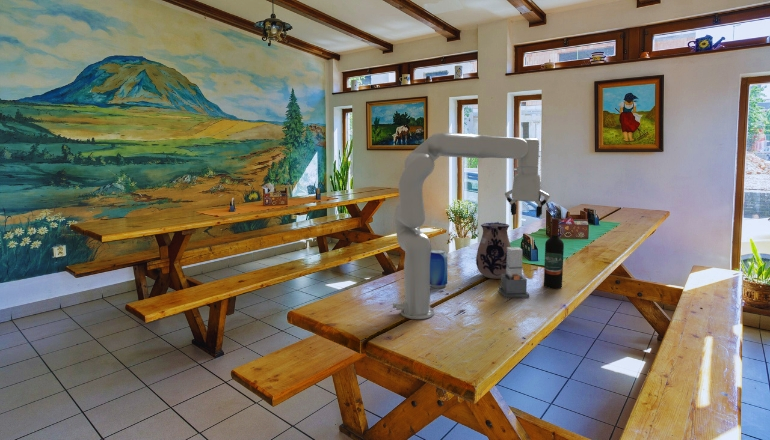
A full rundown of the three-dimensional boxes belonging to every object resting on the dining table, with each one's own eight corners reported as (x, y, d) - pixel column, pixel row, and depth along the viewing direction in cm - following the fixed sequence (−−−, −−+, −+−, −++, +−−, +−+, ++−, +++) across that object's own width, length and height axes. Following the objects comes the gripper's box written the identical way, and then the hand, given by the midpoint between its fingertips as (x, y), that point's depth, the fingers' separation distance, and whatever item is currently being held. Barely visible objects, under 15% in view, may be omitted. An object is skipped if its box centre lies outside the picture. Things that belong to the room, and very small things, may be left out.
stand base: (504, 298, 189) (505, 277, 187) (498, 290, 198) (498, 270, 197) (529, 297, 189) (529, 276, 187) (521, 289, 199) (522, 269, 197)
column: (509, 292, 191) (510, 250, 188) (505, 288, 196) (506, 247, 193) (521, 292, 191) (522, 249, 188) (517, 288, 196) (518, 246, 193)
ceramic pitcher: (476, 281, 212) (477, 228, 207) (475, 268, 232) (475, 220, 228) (515, 282, 209) (517, 228, 204) (511, 269, 229) (512, 220, 225)
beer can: (450, 284, 208) (450, 249, 206) (442, 289, 201) (442, 254, 199) (433, 281, 213) (433, 248, 210) (425, 286, 206) (425, 251, 203)
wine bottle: (564, 285, 203) (567, 218, 198) (557, 289, 197) (560, 221, 192) (548, 282, 208) (550, 216, 203) (540, 286, 203) (543, 219, 197)
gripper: (502, 171, 178) (500, 215, 180) (547, 172, 167) (545, 218, 170) (509, 170, 183) (508, 212, 186) (553, 171, 173) (551, 216, 176)
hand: (525, 215), depth 178 cm, fingers open, 9 cm apart
